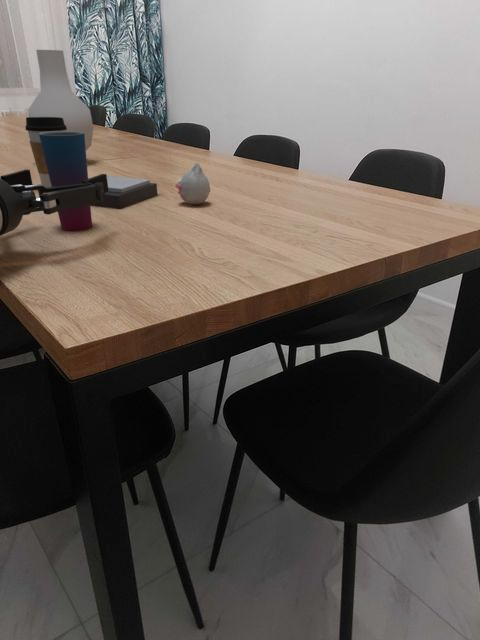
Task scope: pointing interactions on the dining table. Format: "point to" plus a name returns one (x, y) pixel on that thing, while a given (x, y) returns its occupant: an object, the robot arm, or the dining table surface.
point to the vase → (60, 96)
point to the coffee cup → (34, 128)
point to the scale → (126, 192)
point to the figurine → (194, 186)
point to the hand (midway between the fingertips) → (67, 180)
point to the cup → (67, 171)
